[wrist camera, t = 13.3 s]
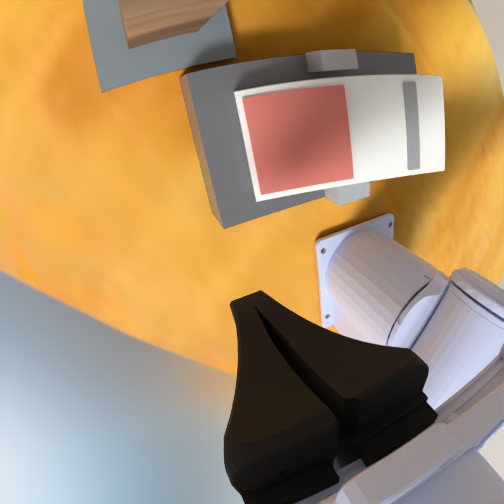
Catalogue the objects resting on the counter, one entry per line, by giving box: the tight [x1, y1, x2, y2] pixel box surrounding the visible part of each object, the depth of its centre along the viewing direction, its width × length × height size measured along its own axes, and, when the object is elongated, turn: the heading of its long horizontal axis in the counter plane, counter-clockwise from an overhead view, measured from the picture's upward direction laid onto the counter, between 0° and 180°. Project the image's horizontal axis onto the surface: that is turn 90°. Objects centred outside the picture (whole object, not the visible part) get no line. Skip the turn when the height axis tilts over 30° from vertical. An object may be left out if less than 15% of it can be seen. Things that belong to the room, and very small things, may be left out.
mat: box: [83, 0, 237, 93], centre depth 14 cm, size 8×8×1 cm
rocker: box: [234, 74, 445, 202], centre depth 16 cm, size 6×12×1 cm, turn 100°
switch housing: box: [179, 49, 417, 229], centre depth 19 cm, size 9×16×4 cm, turn 100°
